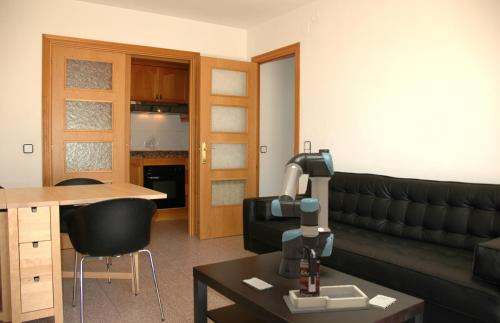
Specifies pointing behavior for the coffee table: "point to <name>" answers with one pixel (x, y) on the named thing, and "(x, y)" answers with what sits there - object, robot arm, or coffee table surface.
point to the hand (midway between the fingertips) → (309, 288)
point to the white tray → (328, 300)
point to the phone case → (258, 284)
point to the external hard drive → (381, 301)
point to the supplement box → (305, 280)
